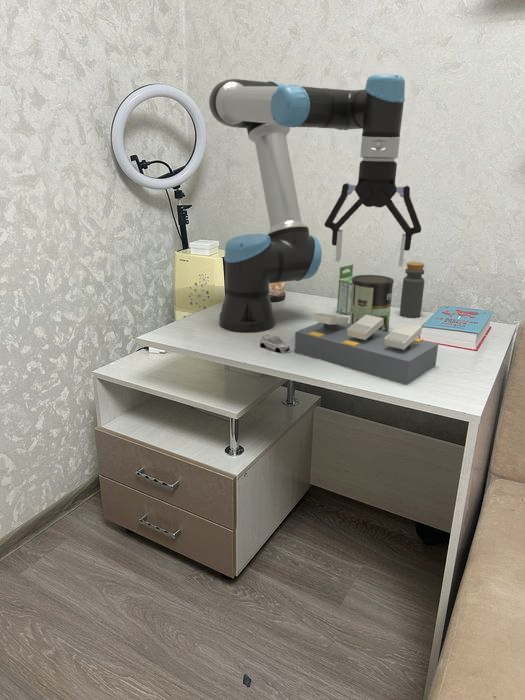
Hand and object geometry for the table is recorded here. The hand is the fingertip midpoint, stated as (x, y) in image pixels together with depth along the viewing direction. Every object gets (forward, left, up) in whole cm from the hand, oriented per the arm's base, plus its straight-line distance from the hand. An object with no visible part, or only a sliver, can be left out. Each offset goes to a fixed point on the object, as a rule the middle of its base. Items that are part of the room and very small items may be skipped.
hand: (368, 263), depth 115 cm
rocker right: (+11, -4, -13) cm, 18 cm away
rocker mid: (+2, -4, -13) cm, 14 cm away
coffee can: (-7, +14, -21) cm, 26 cm away
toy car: (-17, -12, -21) cm, 29 cm away
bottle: (-6, +36, -21) cm, 42 cm away
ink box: (-21, +27, -21) cm, 40 cm away
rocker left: (-7, -4, -13) cm, 15 cm away
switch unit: (+2, -4, -21) cm, 21 cm away
